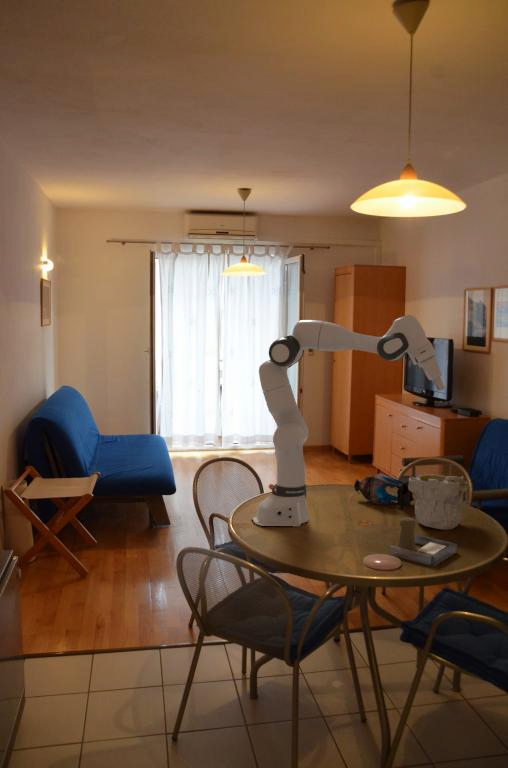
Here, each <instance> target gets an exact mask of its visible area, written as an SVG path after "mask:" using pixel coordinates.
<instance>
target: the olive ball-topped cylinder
mask: <svg viewBox="0 0 508 768" xmlns="http://www.w3.org/2000/svg"><path fill="white" fill-rule="evenodd" d="M399 526H400V527H401V529H400V534H399V539H398V546H397V547H399V548H403V549H407V550H411V551H415V552H417V548H416V543H415V537H414V534H415V531H414V528H415V527H416V521H415V519H414V518H412V517H401V518H400V521H399Z"/></svg>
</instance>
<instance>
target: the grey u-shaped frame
mask: <svg viewBox="0 0 508 768" xmlns="http://www.w3.org/2000/svg"><path fill="white" fill-rule="evenodd" d="M414 537H415V545H420V546H425V545H426V544H428V543H430V542H431V543H435V544H439V545H444V546H446V548H445V549H444V550H442V551H440V552H439V553H437V554H435V555H434V556H430V555H426V554H422V553H418V552H417V551H411V550H407V549H403V548H399V547H398V546H395V545H389V549H388V551H389V552H388V553H389V554H388V555H391V556H394V557H397V558H398V559H403V560H407V561H411V562H415V563H419V564H423V565H426V566H428V567H429V566H430V567H433V568H435V567H436V566H438V565H439V564H441V563H442V562H443V561H446V560H447V559H448V557H449V558H450V557H452V556H454V555H455V554H457V553H456V552H457V550H458V543H454V542H450V541H447V540H446V541H445V540H441V539H437V538H433V537H430V536H425V535H420V534H416V533H414ZM453 554H454V555H453ZM445 559H446V560H445ZM440 562H441V563H440Z"/></svg>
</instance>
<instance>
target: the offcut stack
mask: <svg viewBox="0 0 508 768" xmlns="http://www.w3.org/2000/svg"><path fill="white" fill-rule="evenodd" d="M445 548H446V546H444V545H439V544H435V543H431V542H430V543H428V544H426V545H425V546H424V545H422V547H420V548H418V549H416V552H418V553H422V554H426V555H430V556H434V555H435V554H437V553H439V552H440V551H442V550H444V549H445Z"/></svg>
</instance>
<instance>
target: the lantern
mask: <svg viewBox="0 0 508 768" xmlns="http://www.w3.org/2000/svg"><path fill="white" fill-rule="evenodd" d="M400 484H401V485H400ZM408 486H409V481H406V482H403V481H401V480H398V479H396V478H394V477H391V476H390V475H387V474H384V473H382V472H381V473H378V474H374V475H370V476H366V477H364V478H363V479H362V480H361V481H360V480H359V479H355V482H354V487H353V488H354V491H355V492H357V493H358V494H359V495H362V496H363V498H364V499H366V500H367V501H369V502H368V505H369V506H372V505H373V506H374V505H375V506H376V505H378V506H379V505H380V506H381V505H382V508H384V507H385V506H387V505H392V506H393V505H394V506H395V505H398V506H399V507H400V510H403V509H405V508H407V507H408V506H410V505H411V503H412V501H415V498H414V493H413V492H411V491H410V490H409V489H408ZM387 487H389V488H390V489H394V488H397V491H396V493H397V495H392V493H388V491H387V489H386V488H387Z"/></svg>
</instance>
